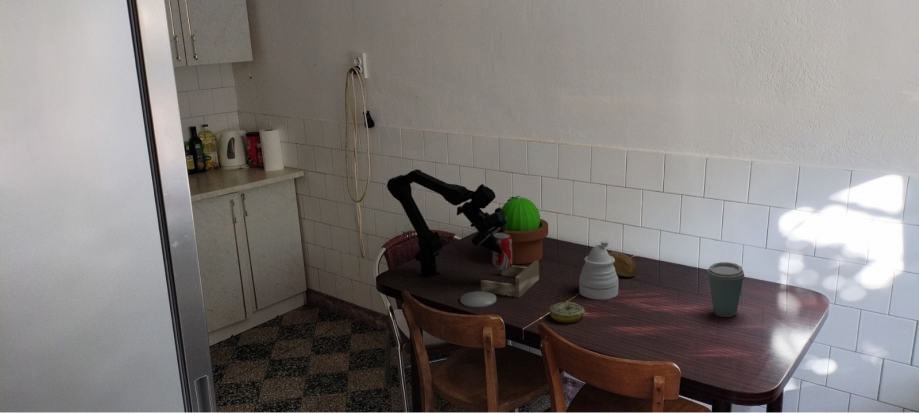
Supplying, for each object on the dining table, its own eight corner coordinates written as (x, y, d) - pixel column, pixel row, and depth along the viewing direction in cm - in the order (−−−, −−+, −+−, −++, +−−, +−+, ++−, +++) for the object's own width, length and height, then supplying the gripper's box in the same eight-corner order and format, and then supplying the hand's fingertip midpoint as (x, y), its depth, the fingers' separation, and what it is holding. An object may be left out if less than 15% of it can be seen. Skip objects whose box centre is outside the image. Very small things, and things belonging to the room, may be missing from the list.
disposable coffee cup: (738, 322, 206) (741, 275, 202) (701, 316, 212) (703, 270, 208) (745, 309, 215) (748, 264, 211) (709, 303, 220) (711, 259, 216)
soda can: (511, 271, 240) (510, 238, 236) (490, 270, 241) (490, 238, 238) (513, 264, 246) (513, 232, 243) (493, 263, 248) (493, 231, 244)
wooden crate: (481, 291, 239) (480, 272, 237) (502, 274, 255) (502, 256, 253) (519, 297, 233) (518, 277, 231) (539, 279, 248) (538, 260, 247)
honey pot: (621, 287, 237) (622, 237, 233) (613, 301, 226) (613, 249, 221) (585, 283, 243) (584, 234, 238) (574, 296, 231) (574, 245, 227)
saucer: (453, 299, 234) (453, 297, 234) (482, 290, 240) (482, 288, 240) (474, 310, 224) (474, 308, 224) (503, 300, 231) (503, 298, 230)
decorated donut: (590, 316, 216) (590, 304, 215) (571, 327, 209) (571, 316, 208) (562, 307, 223) (562, 297, 222) (543, 319, 216) (543, 307, 215)
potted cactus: (551, 265, 261) (550, 201, 255) (493, 268, 262) (491, 204, 255) (545, 247, 282) (544, 187, 276) (491, 249, 283) (489, 190, 276)
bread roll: (628, 282, 242) (629, 260, 240) (591, 274, 251) (591, 253, 249) (641, 274, 248) (642, 253, 246) (605, 266, 258) (605, 246, 256)
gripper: (479, 209, 231) (509, 244, 229) (501, 196, 247) (530, 229, 245) (458, 229, 237) (488, 263, 235) (482, 214, 253) (510, 247, 251)
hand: (505, 250), depth 241 cm, fingers closed on soda can, 7 cm apart
